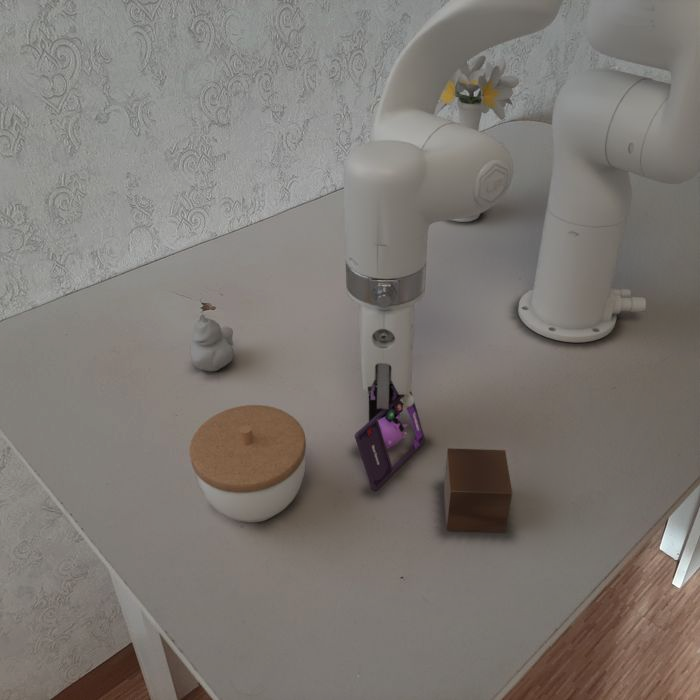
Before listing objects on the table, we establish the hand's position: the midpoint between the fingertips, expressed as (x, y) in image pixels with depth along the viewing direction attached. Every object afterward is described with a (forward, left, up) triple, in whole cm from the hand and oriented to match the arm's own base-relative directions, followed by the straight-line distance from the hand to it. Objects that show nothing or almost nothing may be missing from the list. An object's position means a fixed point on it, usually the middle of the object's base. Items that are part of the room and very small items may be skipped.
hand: (383, 419), depth 78 cm
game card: (0, +5, -1) cm, 5 cm away
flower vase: (-12, -54, -1) cm, 55 cm away
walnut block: (-9, +11, -1) cm, 15 cm away
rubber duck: (+21, -11, -1) cm, 24 cm away
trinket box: (+13, +11, -1) cm, 17 cm away
